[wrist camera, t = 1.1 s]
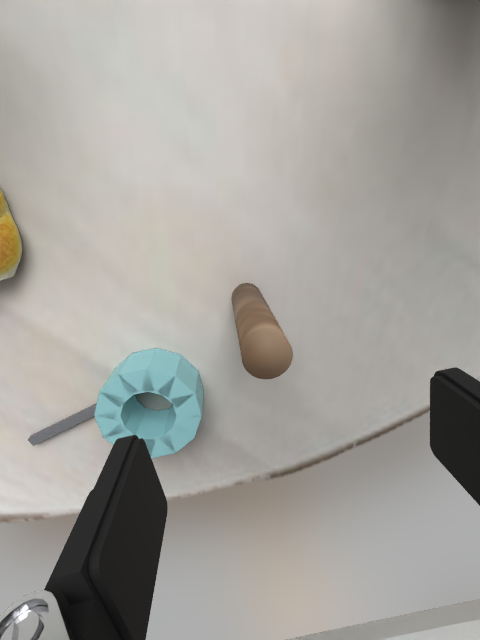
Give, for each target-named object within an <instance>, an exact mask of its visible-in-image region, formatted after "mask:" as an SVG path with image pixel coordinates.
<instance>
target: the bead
mask: <svg viewBox="0 0 480 640" xmlns="http://www.w3.org/2000/svg"><path fill="white" fill-rule="evenodd" d="M144 392H151V393H155V394H159V395H163V396H164V397H165V398H166V399H167V400H168V401H170V402H171V403H172V404H173V406H172V407H171V408H169V409H164V410H160V411H157V410H152V409H148V408H145V407H144V406H143V405H142V404H141V403H139V402H138V401H137V400H136V397H135V394H139V393H144ZM203 394H204V390H203V387H202V383H201V379H200V376H199V372H198V370H197V369H196V368H195V367H194V366H193V365H192V364H190V363H189V362H188V361H187V360H186V359H185V358H184V357H183V356H182V355H181V354H177V353H173V352H170V351H166V350H162V349H158V348H154V349H150V350H145V351H140V352H136V353H132V354H131V355H130V356H129V357H127V358H126V359H125V360H124V361H123V362H122V363H121V364H120V365H119V366H118V367H116V368H115V370H114V371H113V373H112V374H111V376H110V377H109V379H108V380H107V381H106V383H105V384H104V386H103V387H102V389H101V390H100V392H99V396H98V401H97V405H96V409H95V414H94V416H95V418H96V421H97V423H98V426H99V428H100V430H101V433H102V435H103V437H104V438H105V439H106V440H108V441H109V442H110V443H112V444H113V445H114V443H115V441H116V440H117V439H118V438H122V437H127V436H132V435H137V436H138V438H139V439H140V438H143V439H144V441H145V443H146V446H147V449H148V451H149V454H150V457H151V458H155V457H159V456H164V455H169V454H173V453H176V452H177V451H179V450H180V449H181V448H182V447H184V446H185V445H186V444H187V443H189V442H190V441H191V440H192V439H194V437H195V434H196V431H197V429H198V426H199V423H200V420H201V417H202V406H203Z"/></svg>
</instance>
